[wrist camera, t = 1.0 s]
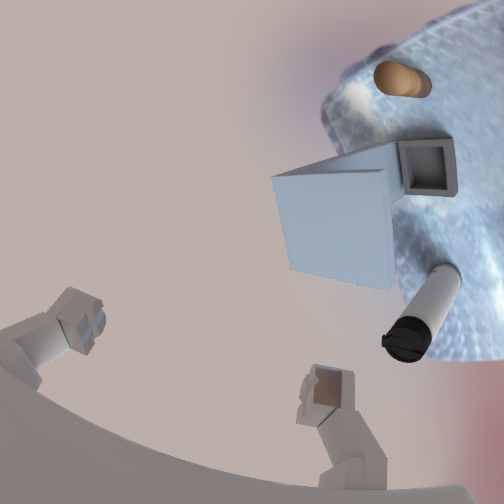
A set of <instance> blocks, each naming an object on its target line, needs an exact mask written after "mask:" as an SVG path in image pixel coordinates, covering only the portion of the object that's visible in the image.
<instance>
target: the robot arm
mask: <svg viewBox="0 0 504 504" xmlns="http://www.w3.org/2000/svg"><path fill="white" fill-rule="evenodd" d="M102 307H103V303H102V300H100V299H98V298H96V297H93V296H91V295H89V294H86V293H84V292H82V291H80V290H77V289H75V288H72V287H69V288H67V289H66V290H65V291H64V292H63V293H62V294H61V295H60V297H59V298H58V299H57V300H56V302H55V303H54V304H53V305H52V306H51V308H50V309H49V310H48V311H47V312H46V313H45V312H42V313H40V314H37V315H35V316H33V317H31V318H28V319H26V320H23V321H21V322H19V323H16V324H14V325H12V326H10V327H7V328H5V329H2V330H0V504H477V503H476V501H475V500H474V498H473V496H472V495H471V494H470V492H469V491H468V490H467V488H466V487H465V486H464V485H462V484H451V485H443V486H435V487H426V488H414V489H399V490H387V457H386V455H385V454H384V452H383V450H382V449H381V447H380V445H379V444H378V442H377V440H376V439H375V437H374V436H373V434H372V432H371V431H370V429H369V427H368V426H367V424H366V423H365V421H364V419H363V418H362V416H361V414H360V413H359V411H355V374H354V372H353V371H348V370H342V369H339V368H334V367H328V366H323V365H318V364H314V365H313V366H312V367H311V369H310V374H308V375H306V377H305V378H304V380H303V383H302V386H301V390H300V396H299V398H300V400H301V401H302V403H301V404H300V406H299V407H298V411H297V420H296V423H297V424H302V425H307V426H312V427H318V428H317V430H318V432H319V434H320V437H321V439H322V441H323V444H324V446H325V448H326V450H327V453H328V455H329V457H330V460H331V462H332V464H333V466H334V467H333V468H331V469H330V470H328V471H326V472H324V473H323V474H321V475H320V479H319V487H318V488H317V487H307V486H298V485H291V484H283V483H277V482H271V481H265V480H259V479H255V478H250V477H245V476H240V475H235V474H232V473H227V472H223V471H219V470H216V469H211V468H208V467H205V466H201V465H198V464H194V463H191V462H187V461H185V460H181V459H178V458H175V457H172V456H170V455H167V454H164V453H161V452H158V451H156V450H153V449H150V448H147V447H145V446H143V445H140V444H138V443H135V442H133V441H130V440H128V439H126V438H123V437H121V436H118V435H117V434H114V433H112V432H110V431H108V430H106V429H104V428H101V427H99V426H97V425H95V424H93V423H91V422H89V421H87V420H85V419H83V418H82V417H80V416H78V415H76V414H74V413H72V412H70V411H69V410H67V409H65V408H63V407H62V406H60V405H58V404H56V403H55V402H53V401H51V400H50V399H48V398H46V397H45V396H43V395H42V394H40V393H38V392H37V389H38V388H39V386H40V385H41V383H42V378H41V377H40V375H39V374H38V372H37V369H39V368H40V367H42V366H44V365H45V364H47V363H49V362H50V361H52V360H54V359H55V358H57V357H59V356H60V355H62V354H63V353H65V352H67V351H68V350H70V348H71V349H73V350H75V351H77V352H80V353H82V354H84V355H88V353H89V352H90V350H91V349H92V347H93V346H94V344H95V341H94V338H96V337H97V336H100V335H101V333H102V332H103V330H104V327H105V324H106V316H105V313H104V312H103V310H102Z"/></svg>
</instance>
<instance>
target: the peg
mask: <svg viewBox="0 0 504 504" xmlns="http://www.w3.org/2000/svg"><path fill="white" fill-rule="evenodd" d="M374 82H375V84H376V86H377V88H378V89H379V90H380V91H381V92H383V93H384V94H387V95H393V96H405V97H415V98H424V97H426V96H428V95H429V93H430V92H431V88H432V84H431V81H430V79H429V77H428V76H427V75H426V74H425V73H423V72H421V71H418V70H416V69H413V68H410V67H407V66H404V65H401V64H398V63H395V62H392V61H385V62H382V63H380V64H379V65H378V66H377V67H376V69H375V71H374Z"/></svg>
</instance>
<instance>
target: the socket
mask: <svg viewBox="0 0 504 504" xmlns="http://www.w3.org/2000/svg"><path fill="white" fill-rule="evenodd" d="M398 146H399V153H400V159H401V167H402V175H403V183H404V192H405V194H406V195H426V196H443V197H455V195H456V194H457V193H458V181H457V168H456V158H455V149H454V141H453V138H421V139H404V140H400V141H398Z"/></svg>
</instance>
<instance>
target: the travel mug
mask: <svg viewBox="0 0 504 504" xmlns="http://www.w3.org/2000/svg"><path fill="white" fill-rule="evenodd" d="M461 284H462V278H461V275H460V273H459V271H458V270H457V269H456V268H455V267H454V266H452V265H450V264H440V265H438V266H436V267H435V268H434V269H433V271H432V272H431V274H430V275H429V277H428V278H427V280H426V281H425V283H424V284H423V285H422V287H421V288H420V290H419V291H418V293H417V294H416V295H415V297H414V298H413V299H412V301H411V302H410V304H409V305H408V306H407V308H406V309H405V310H404V312H403V313H402V314H401V316H400V317H399V318H398V319H397V321H396V322H395V324H394V325H393V326H392V328H391V329H390V330H389V332H388V333H387V334H386V336H385V335H383V336H382V347H385V348H386V350H387V352H388V353H389V354H390V355H391V356H392V357H393V358H394V359H396V360H398V361H401V362H405V363H412V362H416V361H418V360H420V359H421V358H422V357H423V355H424V354H425V353H426V351H427V349H428V348H429V346H430V345H431V343H432V342H433V340H434V338H435V336H436V335H437V333H438V331H439V329H440V327H441V325H442V324H443V322H444V320H445V318H446V316H447V314H448V312H449V310H450V308H451V306H452V304H453V302H454V300H455V298H456V296H457V294H458V292H459V290H460V287H461Z"/></svg>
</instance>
